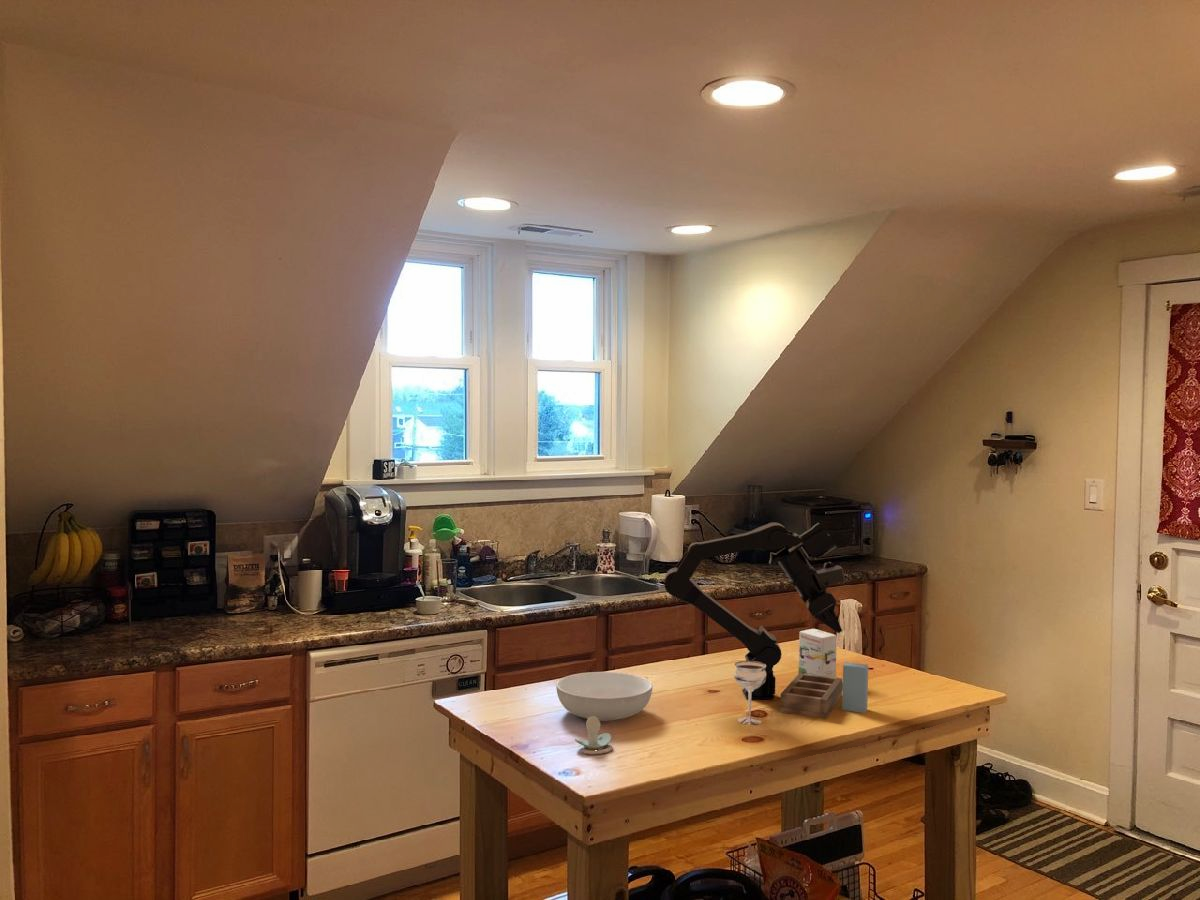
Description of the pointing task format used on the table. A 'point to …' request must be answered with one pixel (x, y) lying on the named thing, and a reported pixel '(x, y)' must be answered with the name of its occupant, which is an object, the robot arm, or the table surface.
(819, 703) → the rack
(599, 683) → the serving bowl
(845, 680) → the light blue block
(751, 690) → the wineglass
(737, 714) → the table surface
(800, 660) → the ink box
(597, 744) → the pacifier
